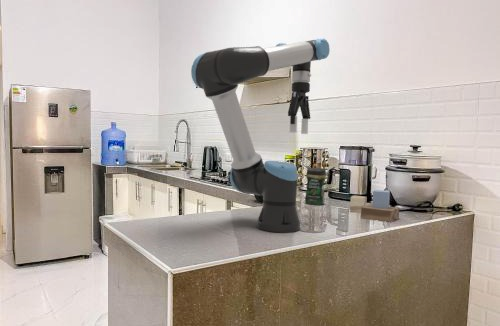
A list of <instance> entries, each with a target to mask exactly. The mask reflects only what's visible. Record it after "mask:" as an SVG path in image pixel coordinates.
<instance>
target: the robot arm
mask: <svg viewBox="0 0 500 326" xmlns="http://www.w3.org/2000/svg"><path fill="white" fill-rule="evenodd" d="M330 51H331V50H330V45H329V42H328V40H327V39H325V38H316V39H311V40H305V41H299V42H295V43H294V42H293V43H282V42H280V43H277V44H276V45H275V46H270V47H265V48H264V47H262V46H261V45H260V46H258V45H257V46H246V47H245V46H244V47H242V46H241V47H240V46H239V47H238V46H237V47H235V46H233V47H226V48H222V49H218V50H213V51H212V50H211V51H207V52H204V53H202V54H199V55H198V56H197V57H195V59H194V61H193V63H192V65H191V72H190V73H191V74H190V75H191V80H192V82H193V83H194V84H195V86H196V87H198V88H200V89H201V90H203V93H204V96H205V97H206V98H208V99H209V100H211V101H212V103H213V106H214V107H213V108H214V109H215V112H216V115H217V118H218V120H219V123H220V126H221V129H222V131H223V135H224V137H225V140H226V143H227V146H228V149H229V151H230V155H231V157H232V159H233V160H232V163H230V166H231V168H230V170H229V172H230V174H229V181H230V184H231V186H232V187H233V189H234V190H236V192H237V191H238V192H239V193H243V194H245V195H253V196H254V195H261V196H263V202H262V207H261V209H260V210H261V211H260V213H259V216H258V218H257V225H256V226H257V229H259V230H262V231H265V232H271V233H293V232H298V231H299V230H301V221H300V218H299V214H298V210H297V192H298V191H297V189H298V178H299V177H298V169H297V166H296V165H294V164H293V163H290V162H284V161H280V160H279V161H278V160H265V161H263V158H262V155H261V154H260V153H257V152H256V149H255V147H254V144H253V142H252V139H251V135H250V132H249V129H248V127H247V123H246V119H245V116H244V113H243V111H242V108H241V105H240V102H239V99H238V96H237V93H236V91H237V89H238V87H239V84H242V83H245V82H248V81H251V80H253V79H257V78H259V77H264V76H265V75H267V73H268V72H271V71H275V70H280V69H283V68H288V67H292V71H291V72H292V74H291V82H292V83H291V98H290V103H289V107H288V111H287V116H288V117H289V133H297V129H298V128H297V127H298V116H297V114H298V112H299V109H300V112H301V116H302V118H301V130H300V132H301V134H302V135H308V132H309V131H308V130H309V120H310V119H311V112H310V103H309V102H310V101H309V99H310V98H309V95H306V94H308V93H310V90H311V87H310V86H311V83H310V82H311V77H312V74H311V63H312V62H314V61H320V60H325V59H327V58H328V57H329V55H330Z"/></svg>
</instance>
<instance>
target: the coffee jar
mask: <svg viewBox="0 0 500 326" xmlns="http://www.w3.org/2000/svg"><path fill="white" fill-rule="evenodd" d="M326 173H327V172H326V169H325V168H320V167H307V169H306V175H305V177H306V179H307V180H306V183H307V184H306V191H305V200H304V203H306V204H307V205H312V206H313V205H314V206H323V205H324V204H325V200H326V199H325V180H326V177H327V176H326V175H327V174H326Z"/></svg>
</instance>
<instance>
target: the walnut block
mask: <svg viewBox="0 0 500 326" xmlns="http://www.w3.org/2000/svg"><path fill="white" fill-rule="evenodd" d="M398 218H399V219H400V207H395V206H389V208H388V209H380V208H372V204H368V205H366V206H365V207H361V213H360V219H363V220H370V221H376V220H378V221H377V222H383V221H386V222H385V223H389V222H390V223H392V222H394V221H393V220H395V219H397V220H399V219H398ZM391 221H392V222H391ZM395 221H396V220H395Z"/></svg>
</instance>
